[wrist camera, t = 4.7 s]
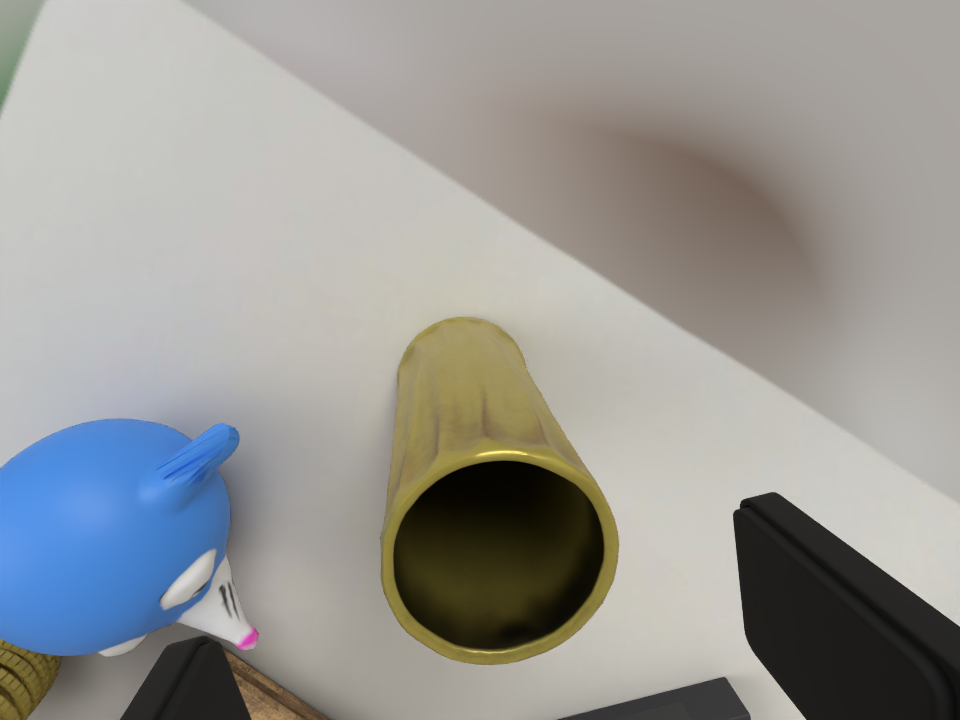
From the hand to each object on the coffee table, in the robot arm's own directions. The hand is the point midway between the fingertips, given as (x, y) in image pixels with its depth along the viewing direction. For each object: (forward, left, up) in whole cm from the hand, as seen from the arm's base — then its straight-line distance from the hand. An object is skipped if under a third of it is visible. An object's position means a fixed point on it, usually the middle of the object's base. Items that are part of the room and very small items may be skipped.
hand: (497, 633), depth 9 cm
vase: (0, 0, -16) cm, 16 cm away
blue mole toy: (+14, +3, -16) cm, 21 cm away
